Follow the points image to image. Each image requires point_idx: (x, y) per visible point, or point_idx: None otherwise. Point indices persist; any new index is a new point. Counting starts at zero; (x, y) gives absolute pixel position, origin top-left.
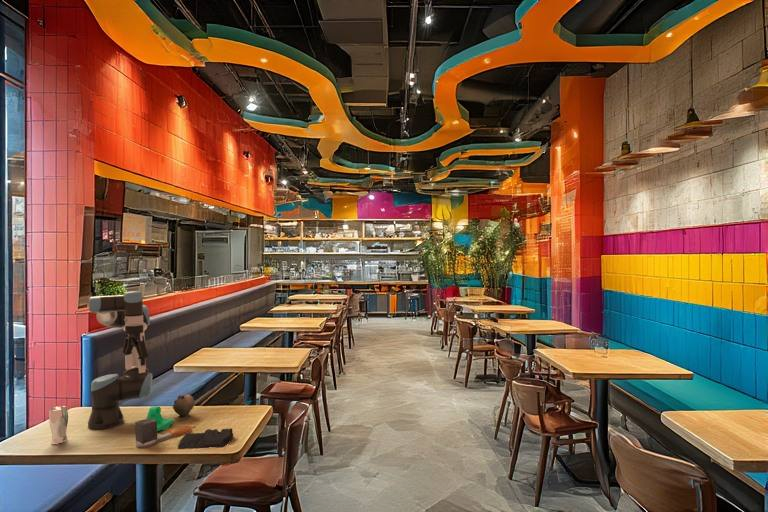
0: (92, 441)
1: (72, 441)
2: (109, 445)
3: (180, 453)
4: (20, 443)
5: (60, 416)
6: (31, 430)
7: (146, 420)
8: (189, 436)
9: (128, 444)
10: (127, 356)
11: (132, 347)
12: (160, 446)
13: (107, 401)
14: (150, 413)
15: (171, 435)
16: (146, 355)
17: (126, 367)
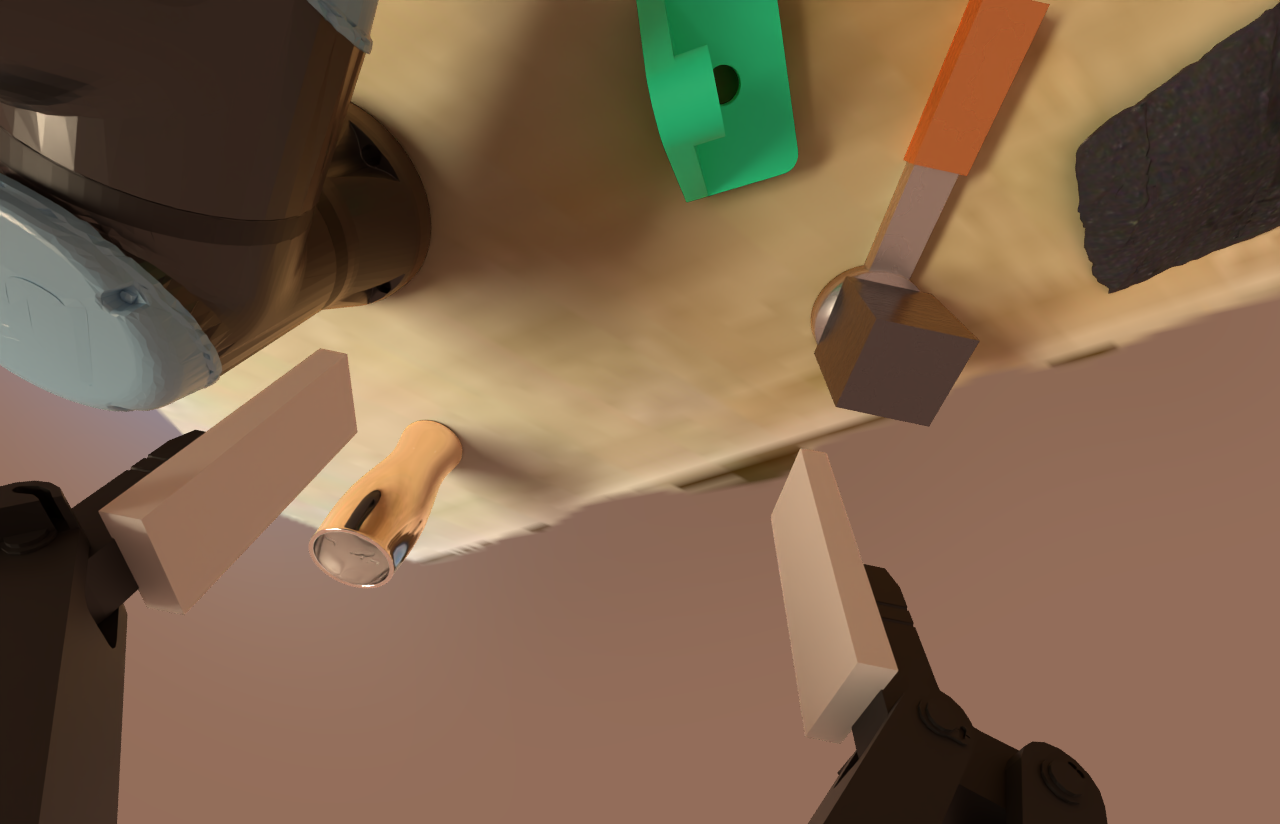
0: (557, 392)
1: (475, 423)
2: (684, 393)
3: (1160, 327)
4: (323, 500)
5: (412, 544)
6: (164, 412)
7: (894, 363)
8: (1174, 207)
9: (766, 352)
10: (198, 566)
11: (59, 780)
12: (970, 305)
13: (312, 288)
14: (692, 156)
15: (951, 182)
16: (1079, 820)
17: (341, 443)
